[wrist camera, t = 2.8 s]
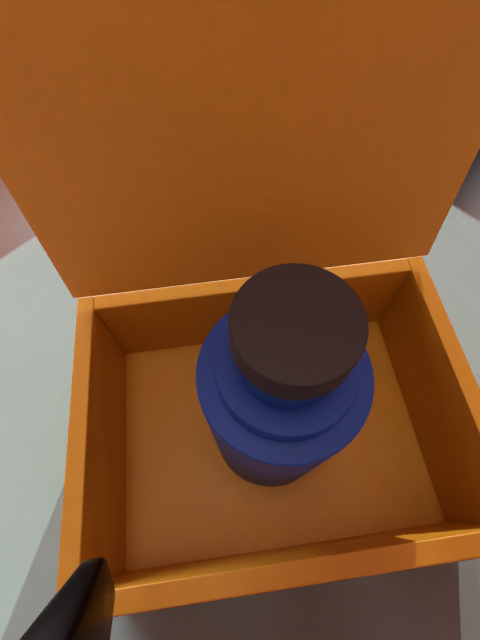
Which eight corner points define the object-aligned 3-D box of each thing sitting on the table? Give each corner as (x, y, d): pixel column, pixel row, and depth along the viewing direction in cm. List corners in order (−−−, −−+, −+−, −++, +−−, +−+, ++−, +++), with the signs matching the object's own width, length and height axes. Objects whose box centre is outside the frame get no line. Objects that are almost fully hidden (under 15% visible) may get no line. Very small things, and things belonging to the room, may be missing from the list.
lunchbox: (458, 536, 17) (549, 546, 12) (113, 591, 16) (52, 627, 11) (381, 314, 22) (422, 255, 17) (117, 348, 21) (77, 297, 16)
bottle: (344, 435, 18) (475, 332, 8) (264, 512, 17) (293, 512, 6) (273, 359, 20) (301, 193, 10) (195, 422, 19) (129, 306, 8)
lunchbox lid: (656, -214, 7) (535, -205, 9) (-204, -159, 6) (-108, -163, 9) (428, 255, 17) (395, 203, 19) (73, 298, 16) (84, 239, 18)
